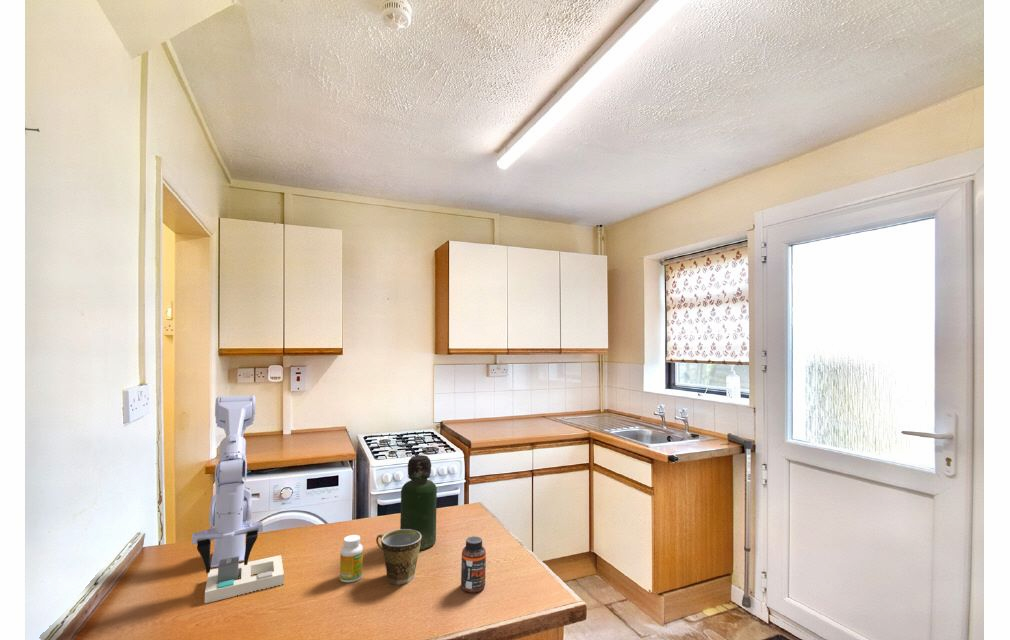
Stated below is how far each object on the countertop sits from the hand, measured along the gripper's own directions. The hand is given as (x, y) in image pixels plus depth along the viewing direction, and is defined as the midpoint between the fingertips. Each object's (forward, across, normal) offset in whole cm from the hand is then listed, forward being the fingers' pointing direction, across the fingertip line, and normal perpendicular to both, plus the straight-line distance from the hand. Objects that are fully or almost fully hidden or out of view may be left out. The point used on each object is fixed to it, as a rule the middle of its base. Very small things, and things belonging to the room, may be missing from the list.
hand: (227, 567), depth 106 cm
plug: (+5, 0, 0) cm, 5 cm away
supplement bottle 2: (+5, +52, -29) cm, 60 cm away
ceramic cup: (+5, +37, -15) cm, 40 cm away
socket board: (+5, +4, 0) cm, 6 cm away
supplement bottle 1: (+5, +27, -10) cm, 29 cm away
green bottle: (+5, +48, 0) cm, 48 cm away
